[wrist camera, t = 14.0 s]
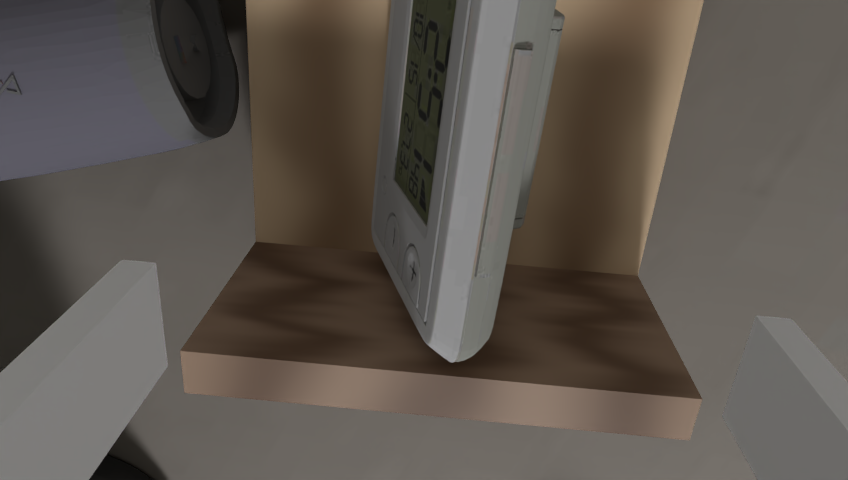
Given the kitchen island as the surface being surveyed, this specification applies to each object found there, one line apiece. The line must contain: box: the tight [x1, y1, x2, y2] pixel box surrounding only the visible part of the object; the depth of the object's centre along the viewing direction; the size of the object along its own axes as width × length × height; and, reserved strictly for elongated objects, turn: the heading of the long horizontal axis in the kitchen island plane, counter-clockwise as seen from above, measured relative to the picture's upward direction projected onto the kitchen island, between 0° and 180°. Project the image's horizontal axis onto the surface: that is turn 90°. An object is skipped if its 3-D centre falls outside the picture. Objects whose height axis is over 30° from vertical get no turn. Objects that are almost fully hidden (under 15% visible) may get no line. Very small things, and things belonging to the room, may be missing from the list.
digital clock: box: [371, 0, 565, 363], centre depth 25 cm, size 16×9×11 cm, turn 162°
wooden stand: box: [180, 0, 704, 440], centre depth 27 cm, size 20×21×14 cm
